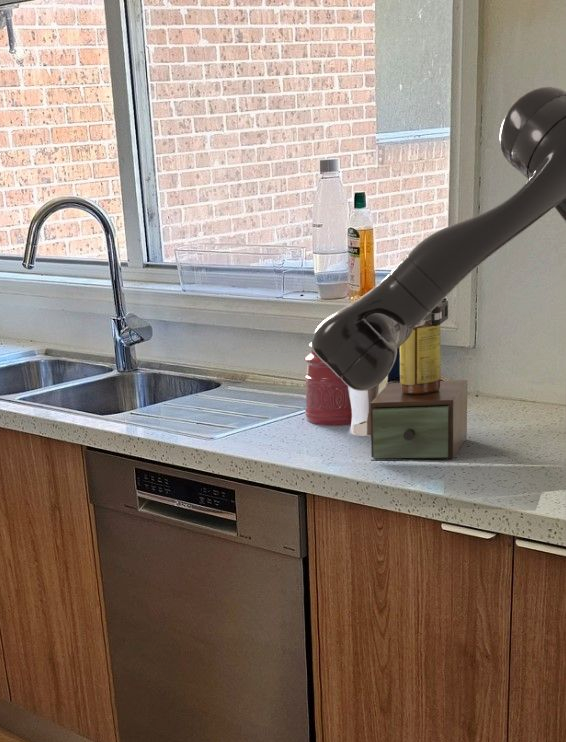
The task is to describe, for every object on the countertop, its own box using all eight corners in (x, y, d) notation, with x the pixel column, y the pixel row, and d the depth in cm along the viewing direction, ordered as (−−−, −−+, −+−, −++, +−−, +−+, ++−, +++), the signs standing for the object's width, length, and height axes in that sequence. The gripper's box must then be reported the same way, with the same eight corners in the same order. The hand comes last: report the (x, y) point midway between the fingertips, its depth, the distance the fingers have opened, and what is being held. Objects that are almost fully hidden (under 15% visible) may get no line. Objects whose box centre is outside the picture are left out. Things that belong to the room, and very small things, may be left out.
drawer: (446, 459, 189) (446, 409, 186) (372, 460, 194) (370, 412, 191) (461, 435, 201) (461, 388, 198) (390, 437, 206) (389, 391, 203)
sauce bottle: (444, 387, 196) (449, 258, 188) (435, 396, 192) (439, 264, 184) (403, 387, 200) (406, 260, 192) (393, 395, 195) (395, 266, 187)
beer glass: (385, 438, 209) (387, 349, 203) (344, 439, 211) (344, 351, 205) (388, 429, 215) (390, 342, 209) (348, 430, 217) (348, 344, 211)
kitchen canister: (298, 416, 231) (297, 321, 224) (367, 409, 231) (368, 314, 224) (313, 431, 220) (312, 331, 212) (385, 424, 219) (387, 323, 212)
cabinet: (452, 460, 191) (453, 399, 187) (371, 462, 197) (370, 402, 193) (466, 437, 203) (467, 379, 199) (389, 439, 208) (388, 383, 204)
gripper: (434, 294, 162) (453, 277, 175) (327, 302, 169) (354, 285, 181) (434, 351, 165) (453, 330, 178) (329, 357, 171) (355, 336, 184)
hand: (403, 307), depth 180 cm, fingers open, 8 cm apart
